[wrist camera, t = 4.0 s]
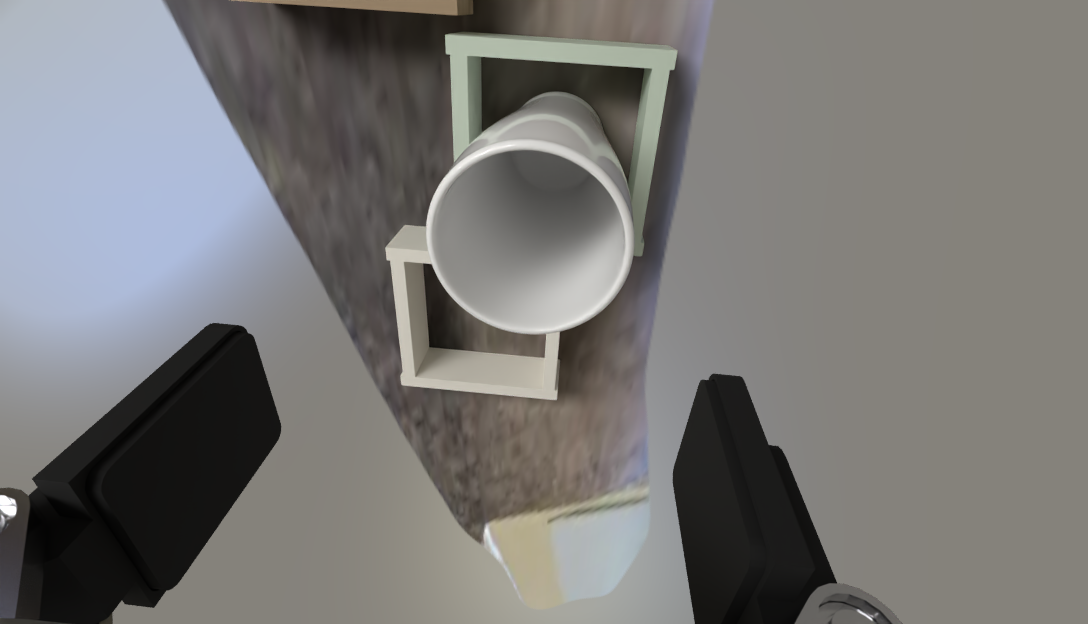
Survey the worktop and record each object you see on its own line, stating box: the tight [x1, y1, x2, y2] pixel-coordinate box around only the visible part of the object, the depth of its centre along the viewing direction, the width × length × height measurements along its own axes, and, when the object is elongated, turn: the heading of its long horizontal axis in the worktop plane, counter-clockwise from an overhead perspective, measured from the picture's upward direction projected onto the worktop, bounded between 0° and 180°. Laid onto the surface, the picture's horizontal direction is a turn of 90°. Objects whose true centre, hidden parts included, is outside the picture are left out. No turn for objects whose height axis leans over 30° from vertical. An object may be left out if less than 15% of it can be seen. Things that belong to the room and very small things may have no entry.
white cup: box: [426, 91, 635, 334], centre depth 22 cm, size 7×7×15 cm
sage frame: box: [445, 31, 677, 256], centre depth 27 cm, size 10×11×4 cm
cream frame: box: [385, 225, 560, 400], centre depth 33 cm, size 10×11×4 cm
